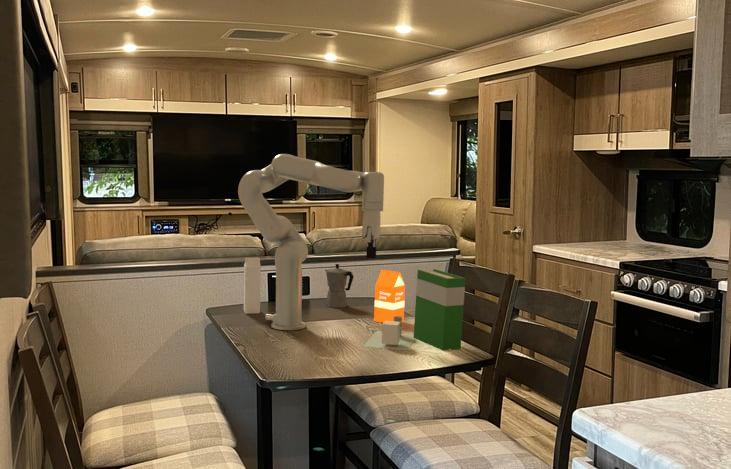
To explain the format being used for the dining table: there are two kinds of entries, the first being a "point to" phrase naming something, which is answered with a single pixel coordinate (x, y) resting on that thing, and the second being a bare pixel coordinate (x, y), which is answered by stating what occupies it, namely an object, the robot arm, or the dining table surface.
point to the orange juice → (389, 296)
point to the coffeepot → (337, 287)
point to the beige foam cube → (390, 332)
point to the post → (399, 319)
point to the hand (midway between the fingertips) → (371, 257)
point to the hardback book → (439, 309)
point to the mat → (402, 345)
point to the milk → (252, 285)
